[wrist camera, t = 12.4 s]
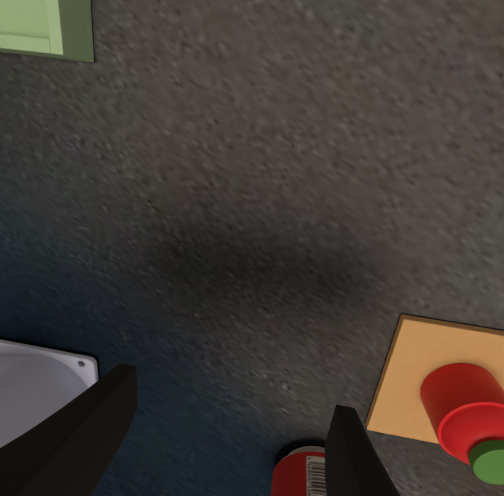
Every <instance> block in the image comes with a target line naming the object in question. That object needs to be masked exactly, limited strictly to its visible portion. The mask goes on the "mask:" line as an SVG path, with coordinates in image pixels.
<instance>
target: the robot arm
mask: <svg viewBox="0 0 504 496" xmlns="http://www.w3.org/2000/svg"><path fill="white" fill-rule="evenodd" d="M83 362H84V363H83ZM136 410H137V381H136V366H130V365H125V364H119V365H117V366H116V367H115V368H113V369H112V370H111V371H110V372H108V373H107V374H106V375H104V376H103V377H102V378H101V379H99V380H98V369H97V361H96V360H95V359H94V358H93V357H91V356H85V355H80V354H75V353H70V352H64V351H59V350H54V349H49V348H43V347H38V346H33V345H27V344H22V343H17V342H12V341H6V340H1V339H0V496H91V495H92V493H93V491H94V489H95V488H96V486H97V484H98V483H99V481H100V479H101V477H102V476H103V474H104V472H105V470H106V469H107V467H108V465H109V464H110V462H111V460H112V458H113V457H114V455H115V453H116V451H117V450H118V448H119V446H120V444H121V443H122V441H123V439H124V437H125V435H126V433H127V431H128V429H129V426H130V424H131V422H132V420H133V417H134V415H135V413H136ZM325 484H326V493H327V496H400V494H399V492H398V491H397V489H396V487H395V486H394V484H393V482H392V480H391V479H390V477H389V475H388V473H387V471H386V470H385V468H384V466H383V464H382V462H381V460H380V459H379V457H378V455H377V453H376V451H375V449H374V447H373V445H372V443H371V441H370V439H369V437H368V435H367V433H366V431H365V429H364V427H363V425H362V422H361V420H360V418H359V416H358V414H357V411H356V410H355V409H354V408H351V407H346V406H341V405H336V407H335V411H334V414H333V418H332V421H331V425H330V429H329V432H328V436H327V440H326V443H325Z"/></svg>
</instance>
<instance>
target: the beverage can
mask: <svg viewBox="0 0 504 496" xmlns="http://www.w3.org/2000/svg"><path fill="white" fill-rule="evenodd" d="M271 496H327V493H326V484H325V448H322V447H317V446H306V447H301V448H298V449H295V450H293V451H292V452H290V453H289V454H288V455H287V456H286V457H284V458H283V459H282V460H281V461H280V462H279V463H278V464H277V465H276V467H275V469H274V471H273V477H272V489H271Z"/></svg>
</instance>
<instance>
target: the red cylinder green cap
mask: <svg viewBox="0 0 504 496" xmlns="http://www.w3.org/2000/svg"><path fill="white" fill-rule="evenodd" d="M420 397H421V401H422V403H423V405H424V408H425V410H426V413H427V415H428V418H429V420H430V422H431V425H432V427H433V430H434V432H435V434H436V437H437V439H438V442H439V444H440V445H441V447H442V448H443V449H444V450H445V451H446V452H447V453H449V454H450V455H452V456H454V457H456V458H458V459H459V460H461V461H463V462H464V463H466V464H468V465H471V467H472V469H473V472H474V473H475V475H476V476H477V477H478V478H479V479H481V480H483V481H485V482H487V483H491V484H504V390H503V389H502V387H501V386H500V384H499V383H498V382H497V380H496V379H495V377H494V376H493V375H492V374H491V373H490V372H489V371H487V370H486V369H484V368H482V367H480V366H477V365H473V364H468V363H455V364H449V365H446V366H443V367H440V368H438V369H436V370H435V371H433V372H432V373H431V374H429V375H428V376H427V377H426V379H425V380H424V381H423V383H422V386H421V389H420Z"/></svg>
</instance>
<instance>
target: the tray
mask: <svg viewBox="0 0 504 496" xmlns="http://www.w3.org/2000/svg"><path fill="white" fill-rule="evenodd" d="M0 52H4V53H13V54H22V55H31V56H40V57H49V58H57V59H66V60H75V61H84V62H94V51H93V34H92V18H91V2H90V0H0Z"/></svg>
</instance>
